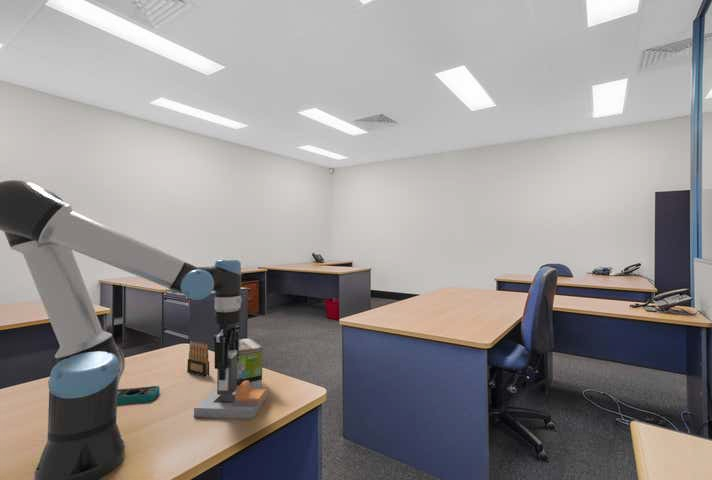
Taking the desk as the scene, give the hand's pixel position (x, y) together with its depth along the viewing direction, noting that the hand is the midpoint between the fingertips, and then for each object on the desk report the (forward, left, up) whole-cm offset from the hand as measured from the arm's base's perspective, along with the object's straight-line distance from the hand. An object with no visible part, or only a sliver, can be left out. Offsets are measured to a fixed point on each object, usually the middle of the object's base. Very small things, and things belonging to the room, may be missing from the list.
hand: (227, 386), depth 100 cm
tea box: (+16, +2, -6) cm, 17 cm away
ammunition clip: (+26, +23, -6) cm, 35 cm away
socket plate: (0, -2, -6) cm, 6 cm away
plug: (0, 0, -2) cm, 2 cm away
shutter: (0, -8, -3) cm, 8 cm away
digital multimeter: (+3, +33, -7) cm, 34 cm away
